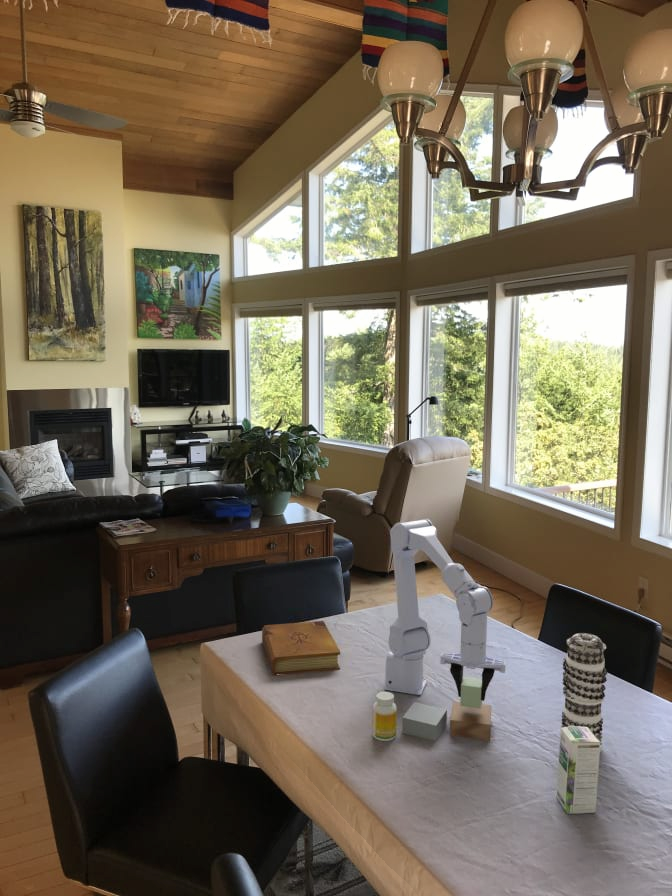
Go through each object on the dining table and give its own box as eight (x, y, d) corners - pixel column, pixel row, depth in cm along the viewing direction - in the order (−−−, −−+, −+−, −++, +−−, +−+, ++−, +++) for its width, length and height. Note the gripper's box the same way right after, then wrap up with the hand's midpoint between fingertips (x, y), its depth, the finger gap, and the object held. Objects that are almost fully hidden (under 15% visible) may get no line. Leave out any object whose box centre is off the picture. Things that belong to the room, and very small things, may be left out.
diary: (262, 644, 211) (262, 625, 210) (323, 638, 215) (323, 620, 214) (272, 677, 188) (272, 656, 188) (340, 671, 192) (340, 650, 192)
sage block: (460, 705, 161) (461, 684, 160) (463, 696, 165) (463, 676, 164) (480, 708, 159) (481, 687, 158) (482, 699, 163) (483, 679, 163)
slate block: (402, 733, 160) (402, 717, 160) (413, 717, 167) (414, 702, 167) (435, 742, 157) (436, 725, 156) (446, 725, 164) (446, 709, 163)
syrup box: (555, 796, 137) (558, 726, 135) (584, 794, 138) (588, 725, 136) (567, 815, 132) (570, 742, 130) (597, 813, 132) (601, 741, 130)
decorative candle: (550, 743, 156) (555, 635, 153) (574, 730, 161) (580, 626, 158) (586, 762, 149) (592, 649, 145) (611, 748, 154) (617, 639, 151)
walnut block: (449, 736, 159) (450, 719, 159) (452, 716, 168) (452, 701, 167) (490, 741, 157) (490, 724, 157) (490, 721, 166) (491, 705, 165)
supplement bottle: (368, 732, 160) (368, 692, 159) (388, 727, 162) (389, 688, 161) (379, 744, 155) (380, 703, 154) (400, 738, 158) (401, 698, 156)
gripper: (438, 642, 158) (437, 699, 160) (504, 651, 154) (502, 710, 156) (444, 631, 165) (442, 686, 167) (507, 639, 160) (505, 695, 162)
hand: (471, 696), depth 162 cm, fingers closed on sage block, 4 cm apart
